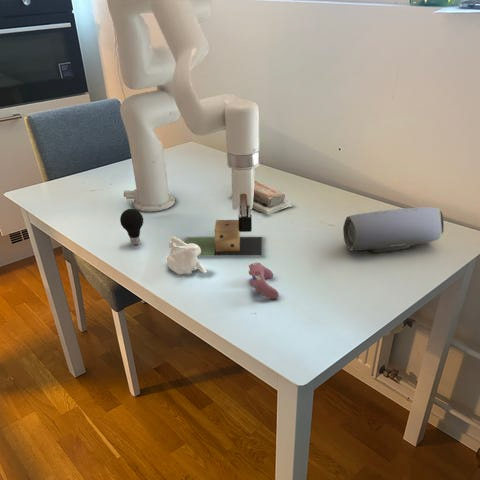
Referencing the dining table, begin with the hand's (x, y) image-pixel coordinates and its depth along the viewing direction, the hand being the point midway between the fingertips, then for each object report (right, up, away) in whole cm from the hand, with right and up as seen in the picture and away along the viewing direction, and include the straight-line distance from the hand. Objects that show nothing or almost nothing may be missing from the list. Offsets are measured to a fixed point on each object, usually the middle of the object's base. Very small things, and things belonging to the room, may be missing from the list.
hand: (245, 230), depth 127 cm
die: (-4, -4, +3) cm, 6 cm away
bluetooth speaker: (+37, -4, +1) cm, 37 cm away
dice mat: (-6, -4, +3) cm, 8 cm away
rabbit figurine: (-15, -11, -6) cm, 20 cm away
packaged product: (+5, +13, +26) cm, 30 cm away
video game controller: (+4, -16, -13) cm, 21 cm away
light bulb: (-29, -3, +6) cm, 30 cm away
